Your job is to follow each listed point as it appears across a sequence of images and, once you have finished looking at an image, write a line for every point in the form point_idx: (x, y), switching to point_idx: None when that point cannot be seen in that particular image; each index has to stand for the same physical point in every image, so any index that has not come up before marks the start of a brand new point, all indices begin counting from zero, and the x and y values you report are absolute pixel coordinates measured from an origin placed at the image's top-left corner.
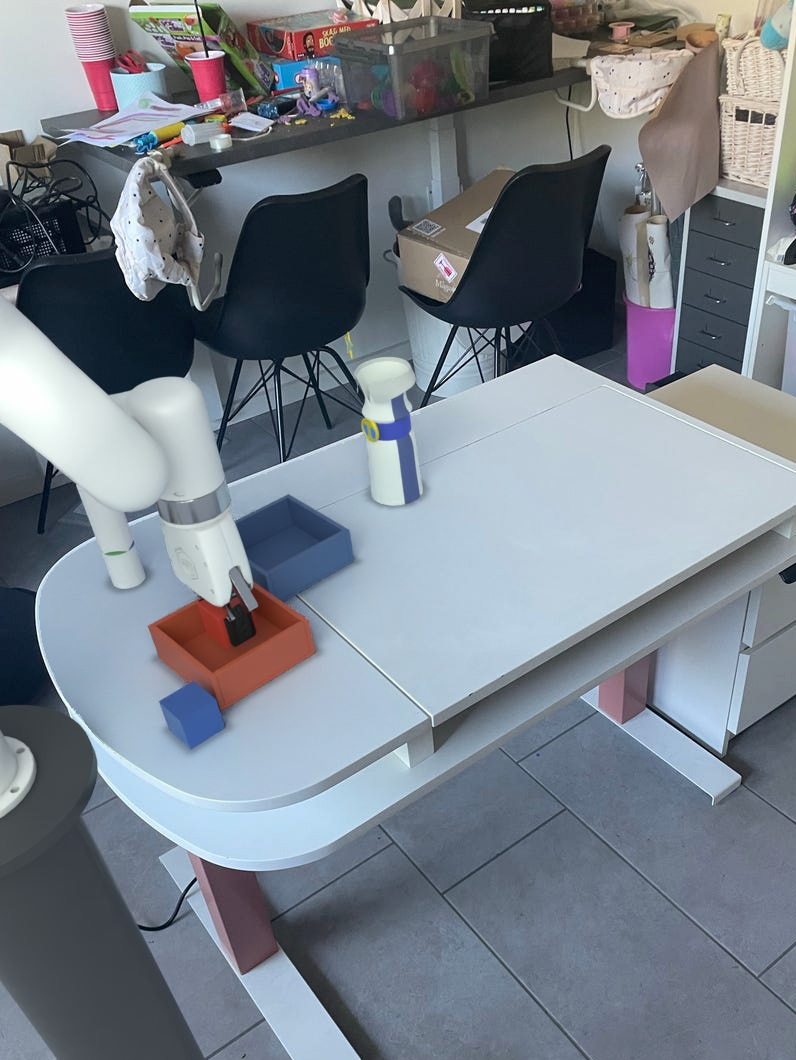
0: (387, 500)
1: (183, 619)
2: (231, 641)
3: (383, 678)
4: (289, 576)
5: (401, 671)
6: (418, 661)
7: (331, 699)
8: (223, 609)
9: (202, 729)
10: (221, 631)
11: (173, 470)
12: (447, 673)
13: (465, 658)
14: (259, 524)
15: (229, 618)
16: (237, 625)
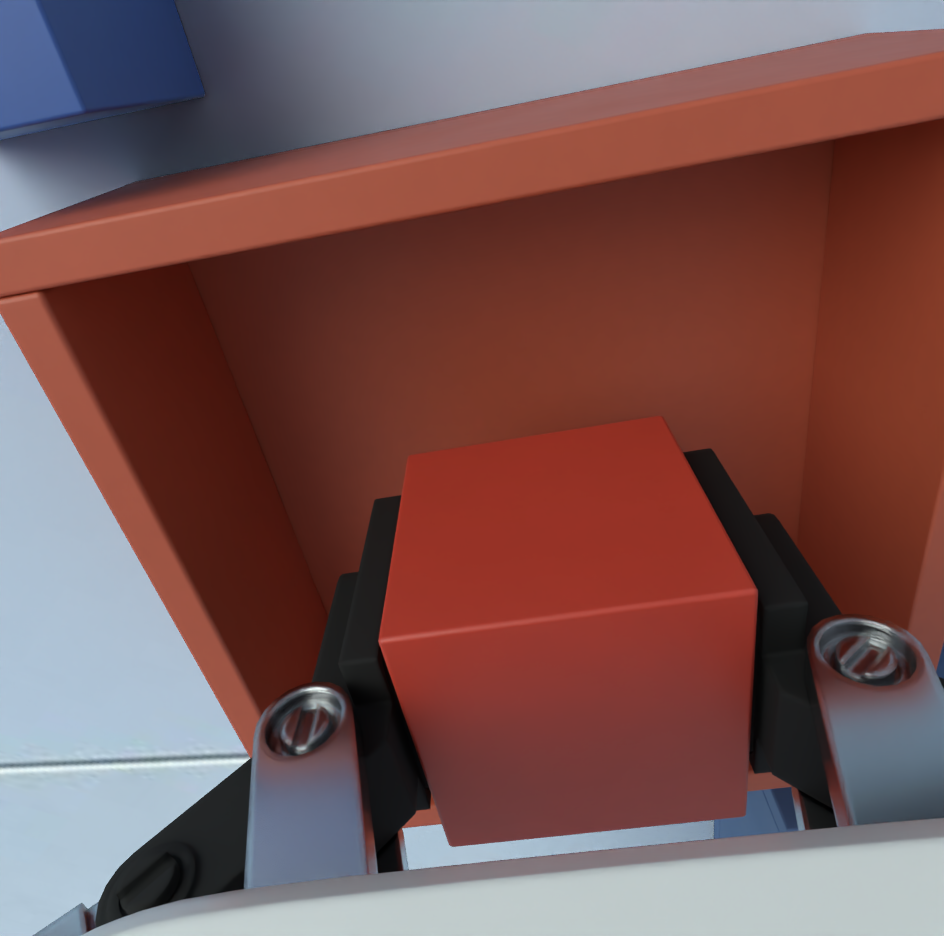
0: None
1: (915, 345)
2: (373, 521)
3: (76, 755)
4: (750, 828)
5: (89, 797)
6: (117, 838)
7: (26, 607)
8: (352, 774)
9: None
10: (394, 546)
11: None
12: (26, 862)
13: (75, 904)
14: None
15: (320, 709)
16: (314, 673)
